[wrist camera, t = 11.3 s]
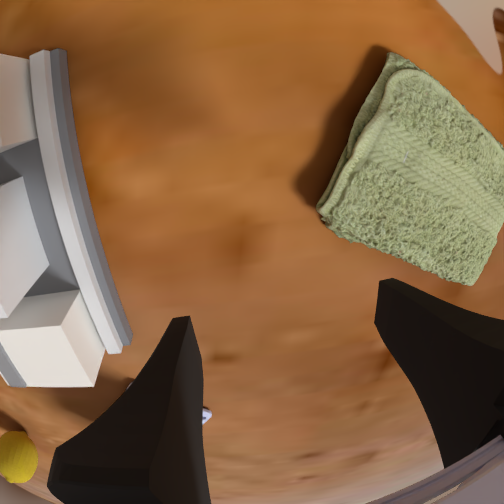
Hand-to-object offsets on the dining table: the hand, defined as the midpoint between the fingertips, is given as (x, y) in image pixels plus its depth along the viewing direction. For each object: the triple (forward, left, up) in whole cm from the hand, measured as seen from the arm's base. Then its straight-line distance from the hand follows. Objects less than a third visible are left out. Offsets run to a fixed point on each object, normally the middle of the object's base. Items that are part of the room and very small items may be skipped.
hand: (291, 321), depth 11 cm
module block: (-8, +14, -8) cm, 18 cm away
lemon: (-36, +9, -10) cm, 38 cm away
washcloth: (+10, -9, -10) cm, 17 cm away
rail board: (-8, +14, -9) cm, 19 cm away
